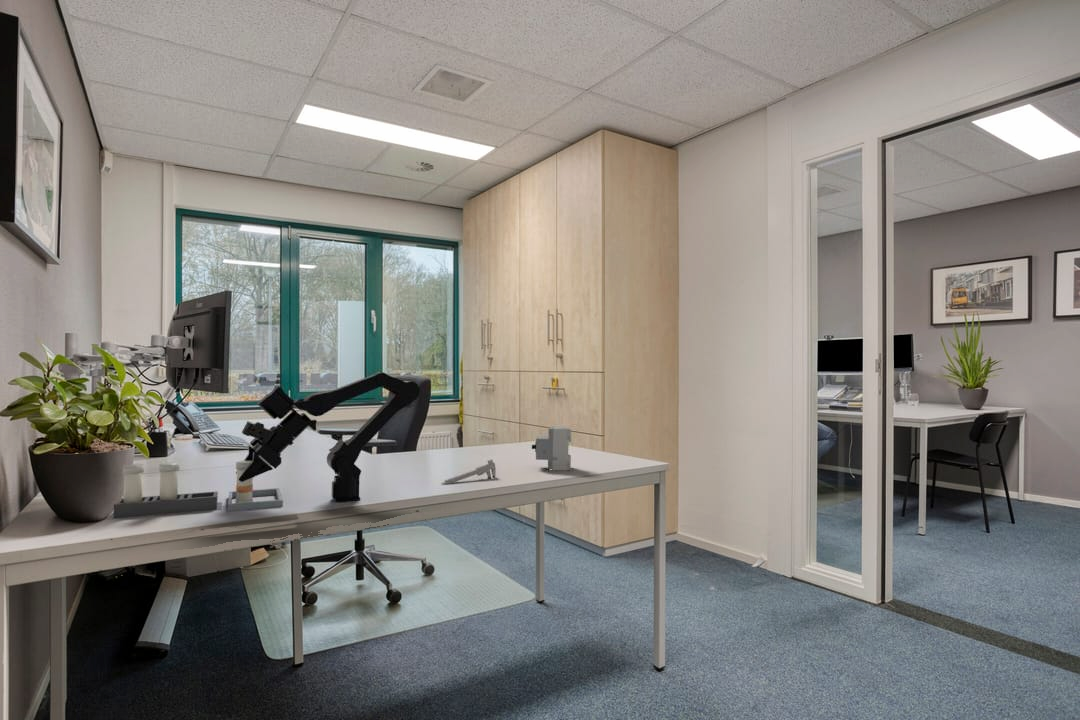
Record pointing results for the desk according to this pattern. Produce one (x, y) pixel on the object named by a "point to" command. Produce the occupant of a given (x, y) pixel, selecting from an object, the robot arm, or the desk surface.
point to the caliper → (475, 472)
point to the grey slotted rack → (167, 505)
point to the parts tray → (259, 503)
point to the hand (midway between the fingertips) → (238, 477)
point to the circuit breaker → (554, 448)
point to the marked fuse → (243, 484)
